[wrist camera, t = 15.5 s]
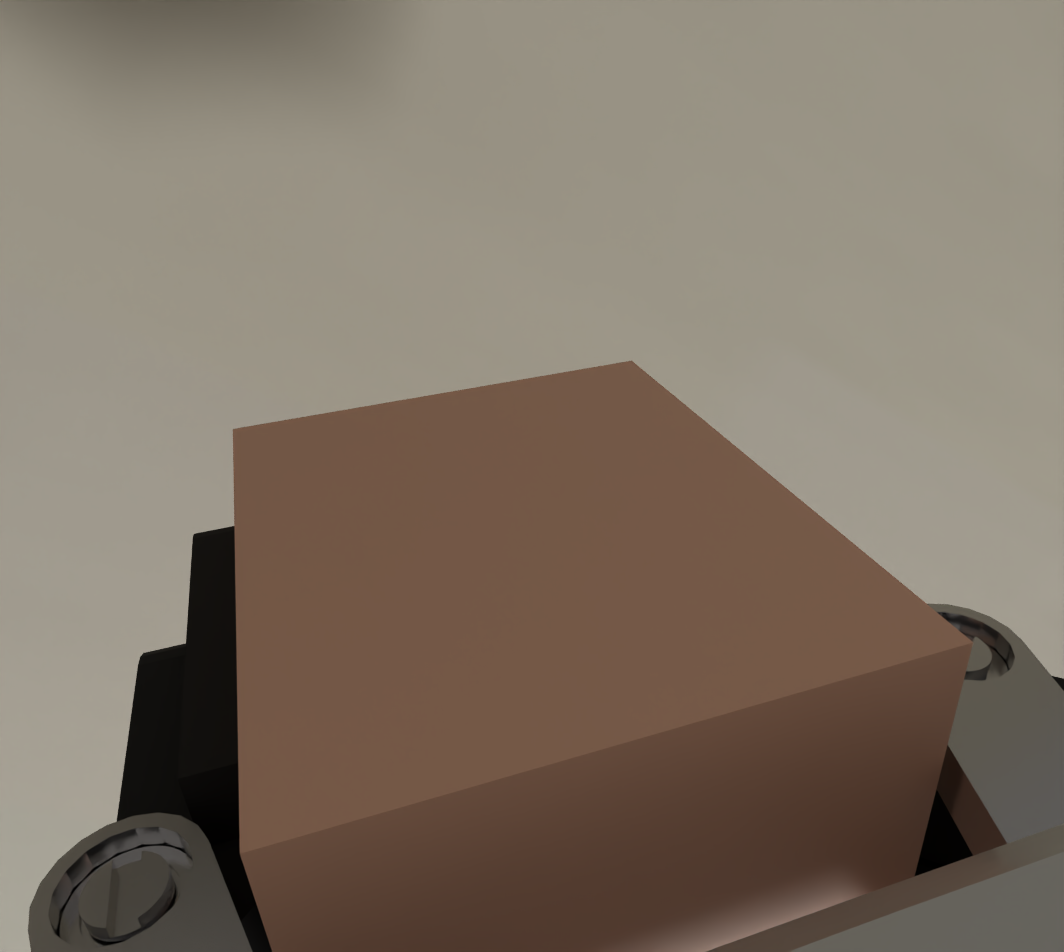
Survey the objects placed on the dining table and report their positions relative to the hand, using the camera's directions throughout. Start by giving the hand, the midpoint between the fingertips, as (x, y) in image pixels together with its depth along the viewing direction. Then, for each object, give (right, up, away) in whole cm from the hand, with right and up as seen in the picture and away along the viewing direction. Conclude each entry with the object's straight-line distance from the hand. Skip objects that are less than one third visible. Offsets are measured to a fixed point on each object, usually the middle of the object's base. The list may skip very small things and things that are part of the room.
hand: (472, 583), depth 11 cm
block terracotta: (0, 0, 0) cm, 1 cm away
